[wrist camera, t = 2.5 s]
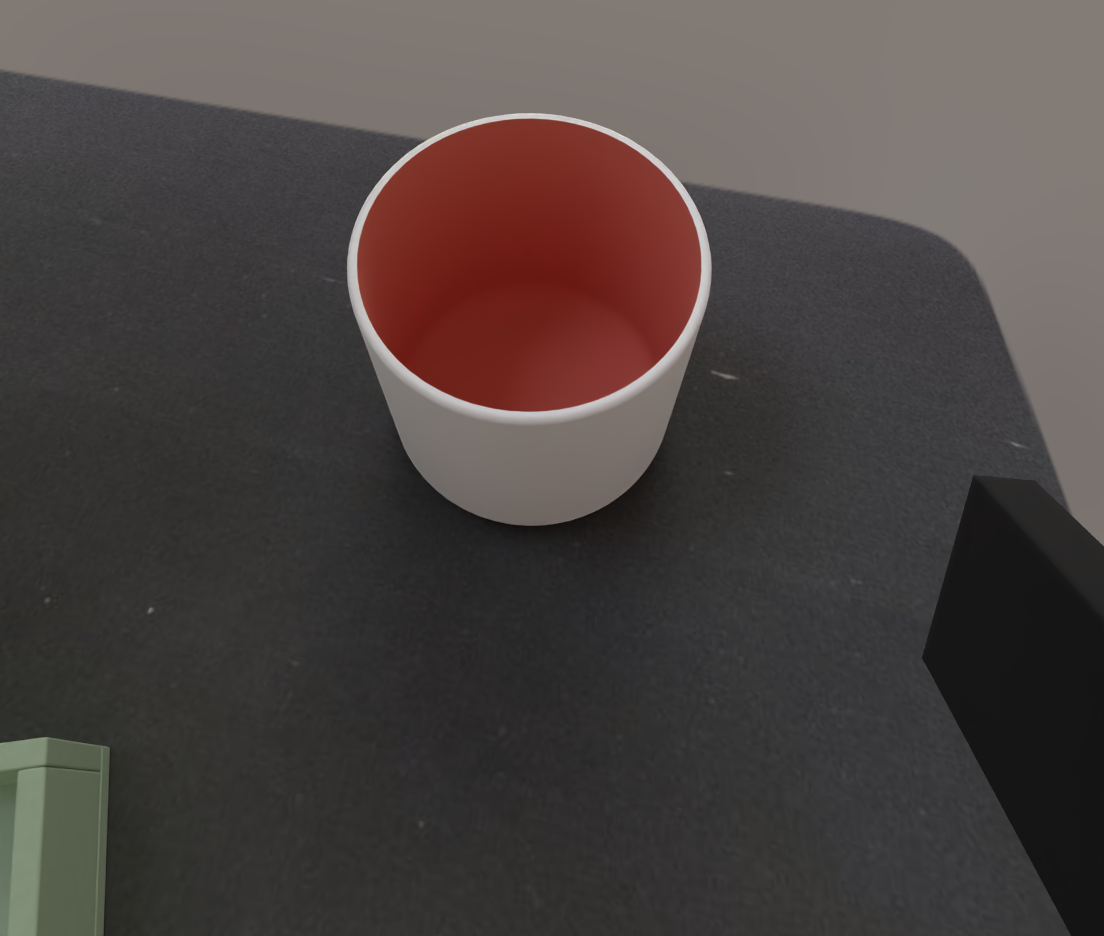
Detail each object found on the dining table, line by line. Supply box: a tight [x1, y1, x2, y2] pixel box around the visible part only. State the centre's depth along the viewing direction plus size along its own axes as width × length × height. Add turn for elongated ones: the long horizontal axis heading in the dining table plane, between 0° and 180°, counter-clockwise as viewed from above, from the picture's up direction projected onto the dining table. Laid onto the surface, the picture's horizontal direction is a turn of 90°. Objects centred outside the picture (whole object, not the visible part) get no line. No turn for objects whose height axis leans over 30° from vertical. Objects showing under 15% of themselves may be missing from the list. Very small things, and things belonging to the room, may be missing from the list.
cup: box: [347, 113, 711, 526], centre depth 29 cm, size 10×10×10 cm
